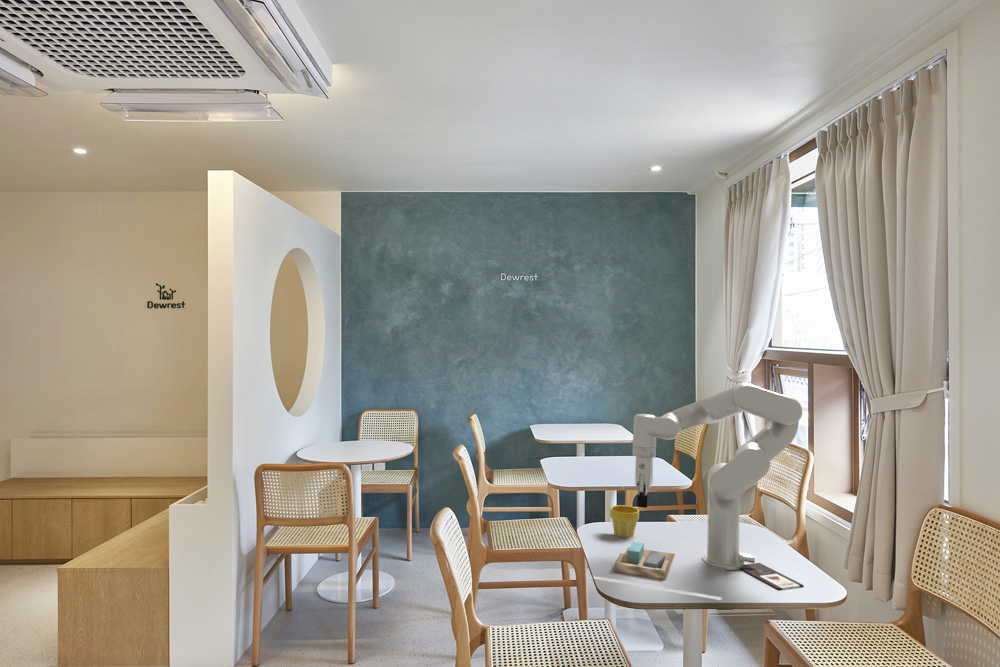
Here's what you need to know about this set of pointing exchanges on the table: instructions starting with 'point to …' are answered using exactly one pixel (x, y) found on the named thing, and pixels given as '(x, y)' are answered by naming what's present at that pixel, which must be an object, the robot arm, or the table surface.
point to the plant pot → (624, 520)
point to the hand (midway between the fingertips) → (642, 506)
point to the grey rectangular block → (655, 561)
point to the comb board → (639, 568)
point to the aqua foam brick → (635, 552)
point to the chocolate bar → (770, 576)
